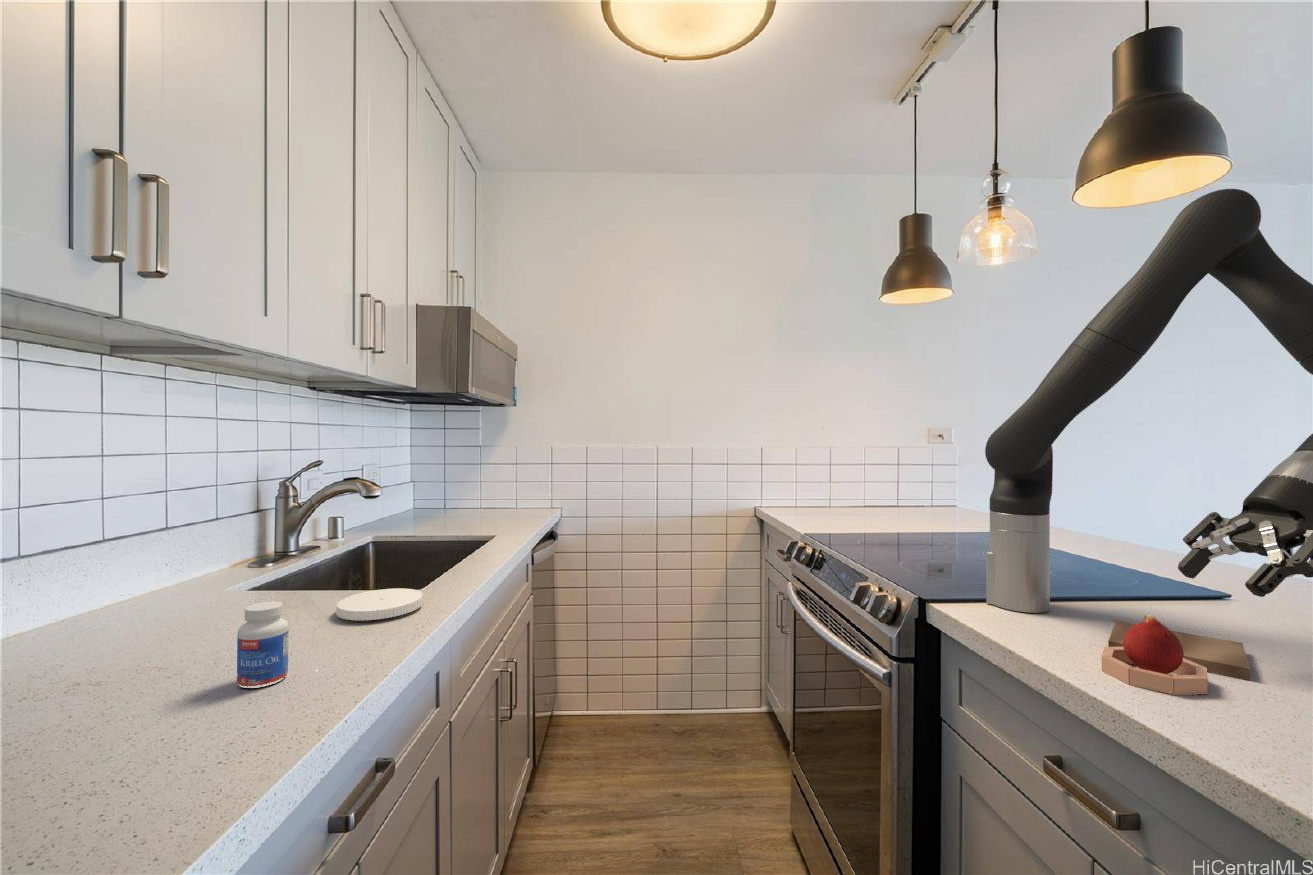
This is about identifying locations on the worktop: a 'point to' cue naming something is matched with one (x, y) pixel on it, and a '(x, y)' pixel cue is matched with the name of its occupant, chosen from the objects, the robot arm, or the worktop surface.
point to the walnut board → (1200, 651)
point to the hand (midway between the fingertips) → (1216, 582)
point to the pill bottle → (262, 645)
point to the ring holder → (1156, 674)
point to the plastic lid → (379, 604)
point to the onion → (1153, 646)
